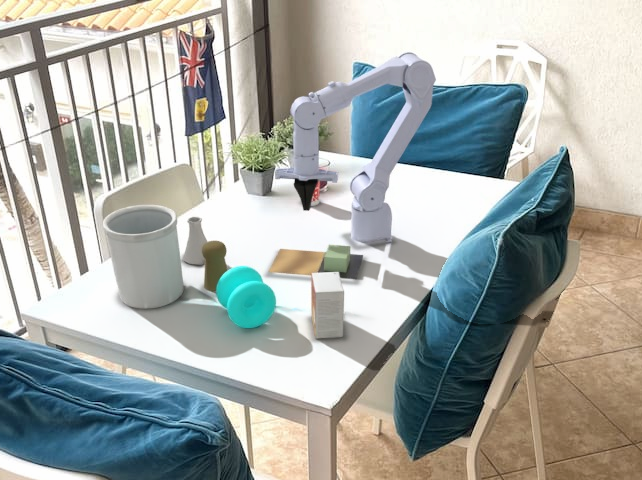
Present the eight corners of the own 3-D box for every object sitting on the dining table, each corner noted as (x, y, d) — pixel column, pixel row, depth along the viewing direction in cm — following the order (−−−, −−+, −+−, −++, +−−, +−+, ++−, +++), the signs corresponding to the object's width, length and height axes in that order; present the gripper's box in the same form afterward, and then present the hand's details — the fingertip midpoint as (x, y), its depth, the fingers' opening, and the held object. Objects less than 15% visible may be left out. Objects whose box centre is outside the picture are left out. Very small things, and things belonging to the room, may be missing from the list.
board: (268, 275, 157) (268, 271, 157) (280, 252, 167) (280, 248, 167) (356, 283, 154) (356, 279, 154) (363, 258, 164) (363, 254, 163)
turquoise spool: (231, 335, 137) (227, 291, 131) (216, 311, 144) (212, 268, 139) (279, 324, 140) (277, 280, 135) (261, 301, 148) (259, 259, 142)
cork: (226, 297, 150) (222, 250, 144) (200, 294, 151) (194, 248, 145) (235, 283, 155) (231, 238, 149) (209, 281, 156) (204, 236, 150)
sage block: (324, 270, 157) (324, 256, 155) (328, 258, 162) (329, 244, 160) (346, 272, 156) (346, 258, 154) (350, 259, 161) (350, 246, 159)
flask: (219, 255, 167) (216, 216, 161) (203, 267, 161) (199, 228, 156) (194, 249, 169) (189, 211, 164) (177, 262, 164) (172, 222, 158)
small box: (311, 318, 142) (310, 272, 136) (338, 316, 142) (339, 270, 137) (314, 339, 135) (314, 292, 130) (343, 337, 136) (344, 290, 130)
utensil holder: (156, 317, 143) (144, 239, 133) (101, 300, 149) (86, 224, 139) (199, 286, 154) (191, 212, 144) (147, 271, 160) (136, 199, 150)
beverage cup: (308, 196, 197) (307, 147, 189) (326, 201, 194) (326, 152, 186) (295, 203, 192) (294, 154, 185) (313, 208, 189) (312, 158, 182)
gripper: (270, 156, 156) (273, 213, 163) (334, 160, 154) (334, 217, 161) (278, 147, 162) (280, 202, 169) (339, 150, 159) (339, 205, 167)
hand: (306, 209), depth 165 cm, fingers closed
